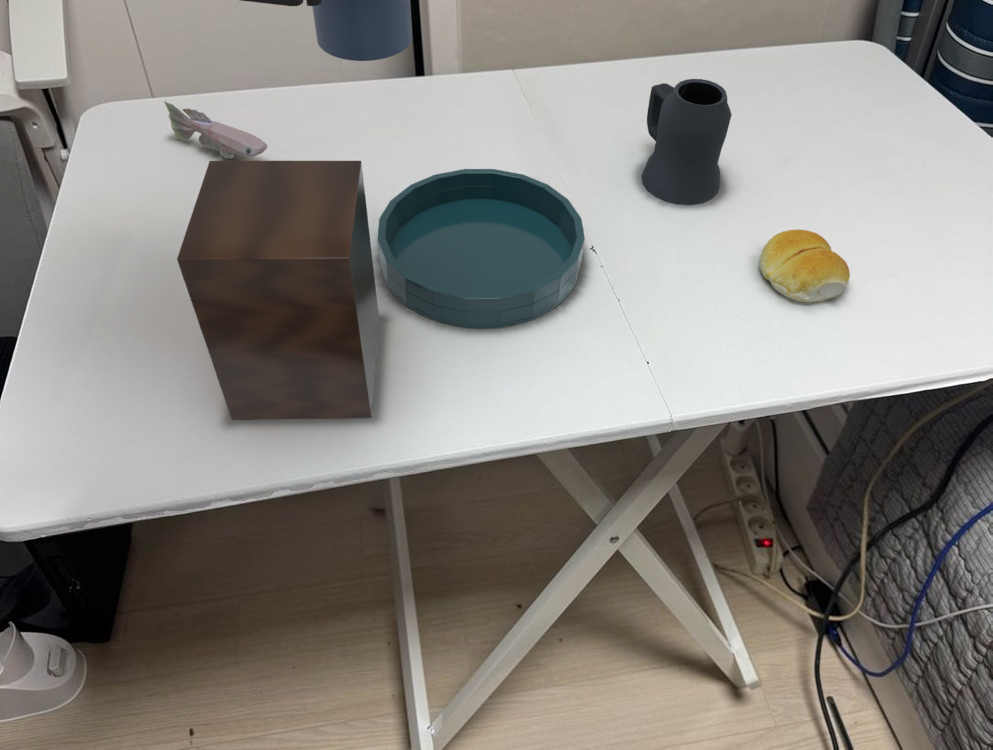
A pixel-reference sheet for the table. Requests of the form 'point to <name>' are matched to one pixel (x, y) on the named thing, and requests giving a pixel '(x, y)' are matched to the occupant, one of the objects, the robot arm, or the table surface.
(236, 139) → the fish
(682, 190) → the mug
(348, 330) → the brown wooden block
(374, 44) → the tin
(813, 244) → the bread roll
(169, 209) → the table surface
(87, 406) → the table surface
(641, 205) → the table surface
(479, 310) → the round teal tray
